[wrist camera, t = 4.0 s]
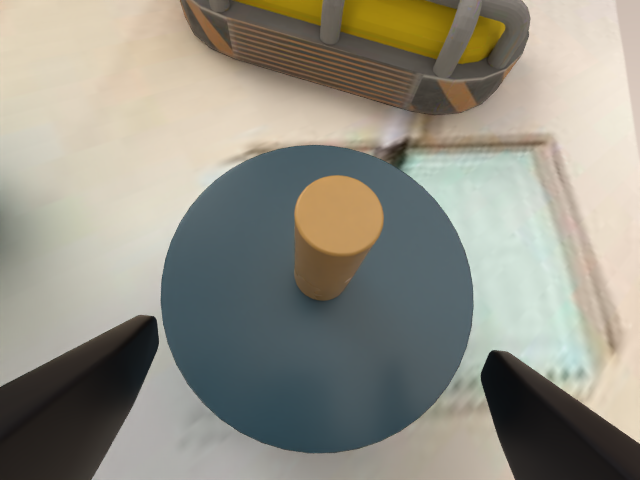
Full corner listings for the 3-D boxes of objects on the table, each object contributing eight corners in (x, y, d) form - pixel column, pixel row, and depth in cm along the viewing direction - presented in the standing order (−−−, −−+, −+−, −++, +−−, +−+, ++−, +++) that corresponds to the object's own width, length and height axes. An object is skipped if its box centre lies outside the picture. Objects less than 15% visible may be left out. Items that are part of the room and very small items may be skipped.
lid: (400, 517, 12) (524, 688, 6) (102, 347, 14) (-77, 327, 7) (494, 225, 17) (621, 135, 10) (265, 120, 18) (250, -19, 12)
